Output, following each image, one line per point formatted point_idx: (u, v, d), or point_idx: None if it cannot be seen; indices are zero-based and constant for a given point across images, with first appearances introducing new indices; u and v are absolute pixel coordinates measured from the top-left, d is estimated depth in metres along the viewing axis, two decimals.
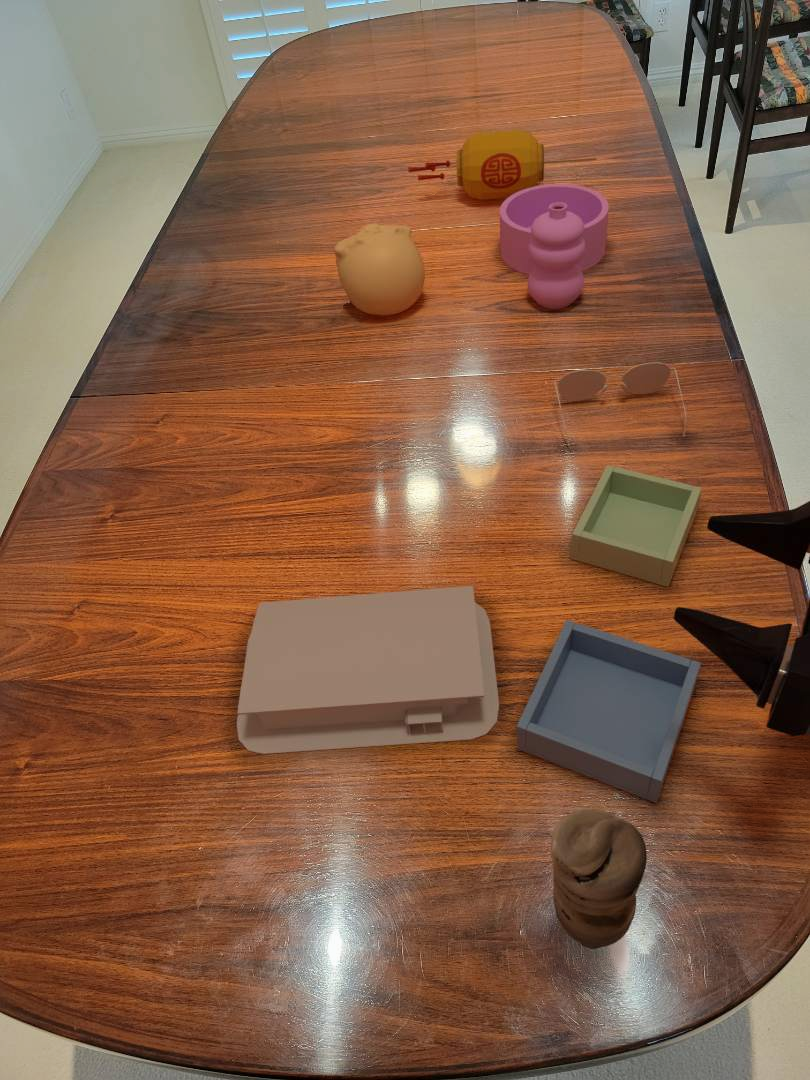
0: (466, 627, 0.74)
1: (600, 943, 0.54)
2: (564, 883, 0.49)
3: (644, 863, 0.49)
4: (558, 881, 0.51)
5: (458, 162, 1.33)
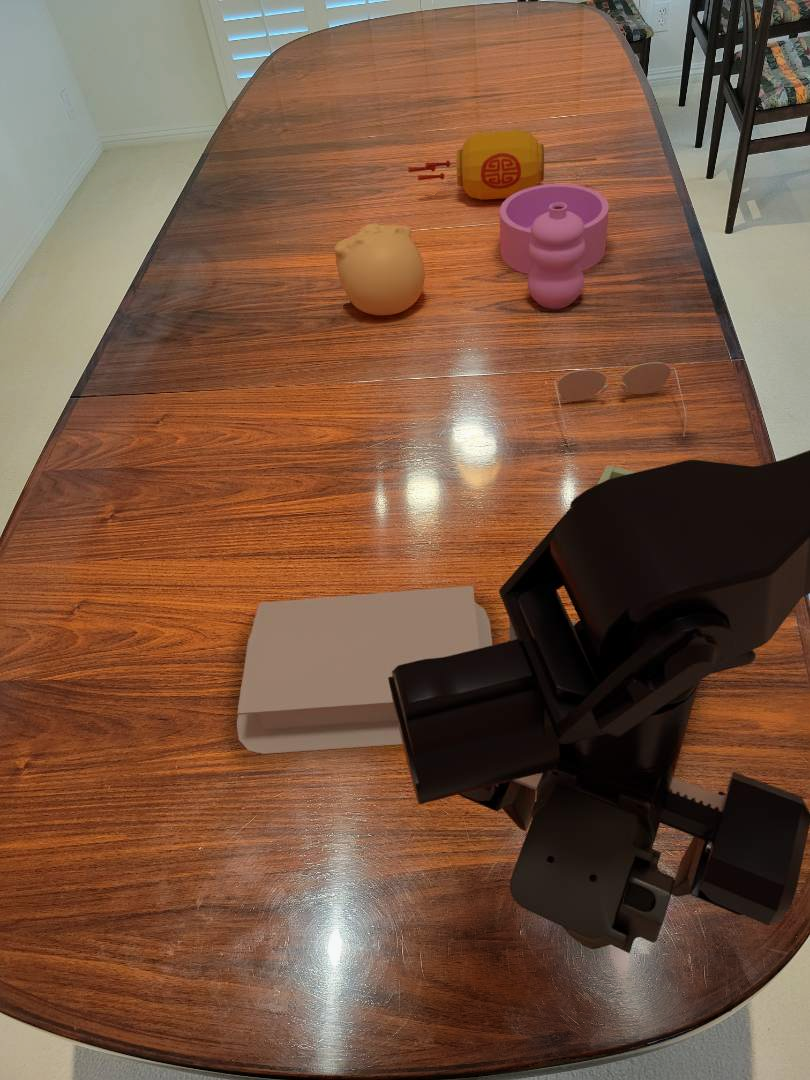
0: (466, 627, 0.74)
1: (600, 943, 0.54)
2: None
3: None
4: None
5: (458, 162, 1.33)
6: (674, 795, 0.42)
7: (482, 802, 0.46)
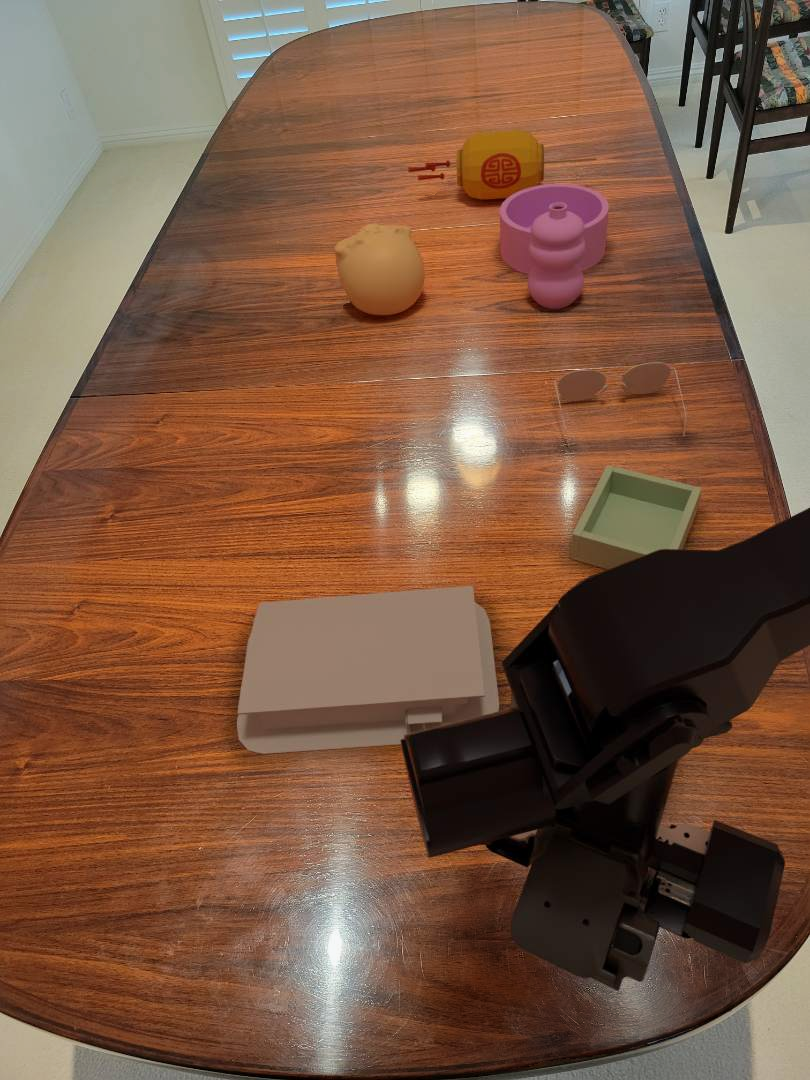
0: (466, 627, 0.74)
1: None
2: None
3: None
4: None
5: (458, 162, 1.33)
6: (660, 842, 0.46)
7: (513, 858, 0.49)
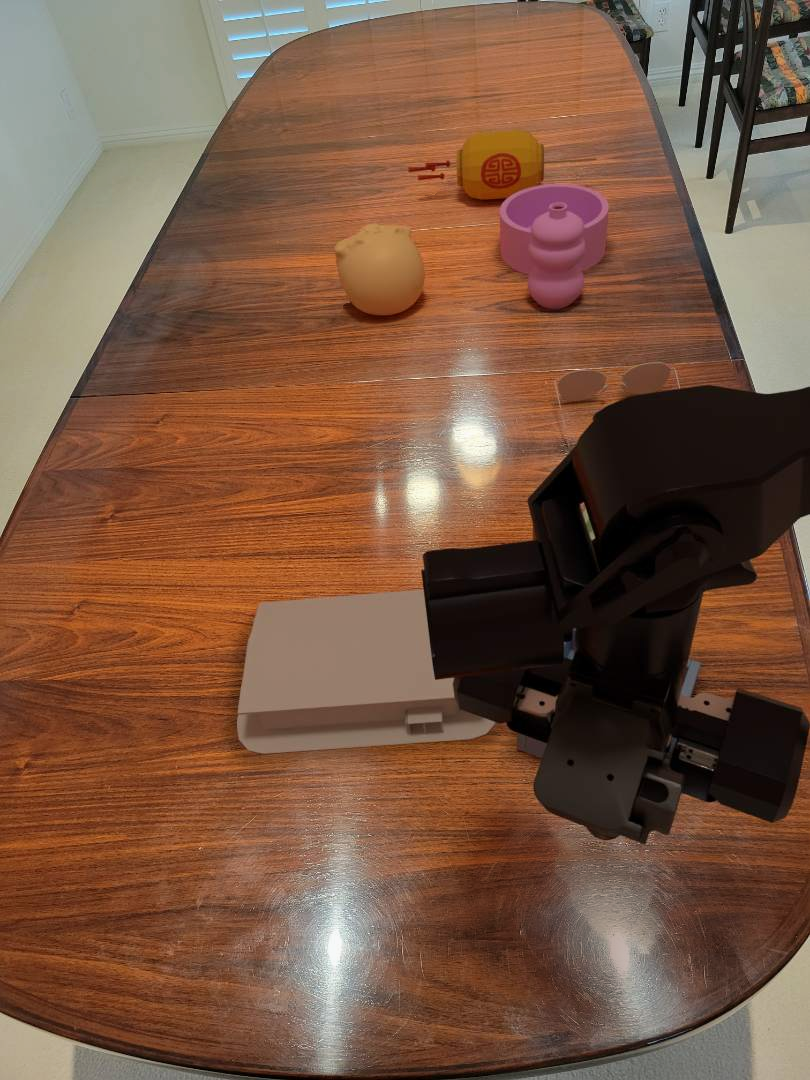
0: None
1: None
2: None
3: None
4: None
5: (458, 162, 1.33)
6: (683, 709, 0.46)
7: (535, 736, 0.48)
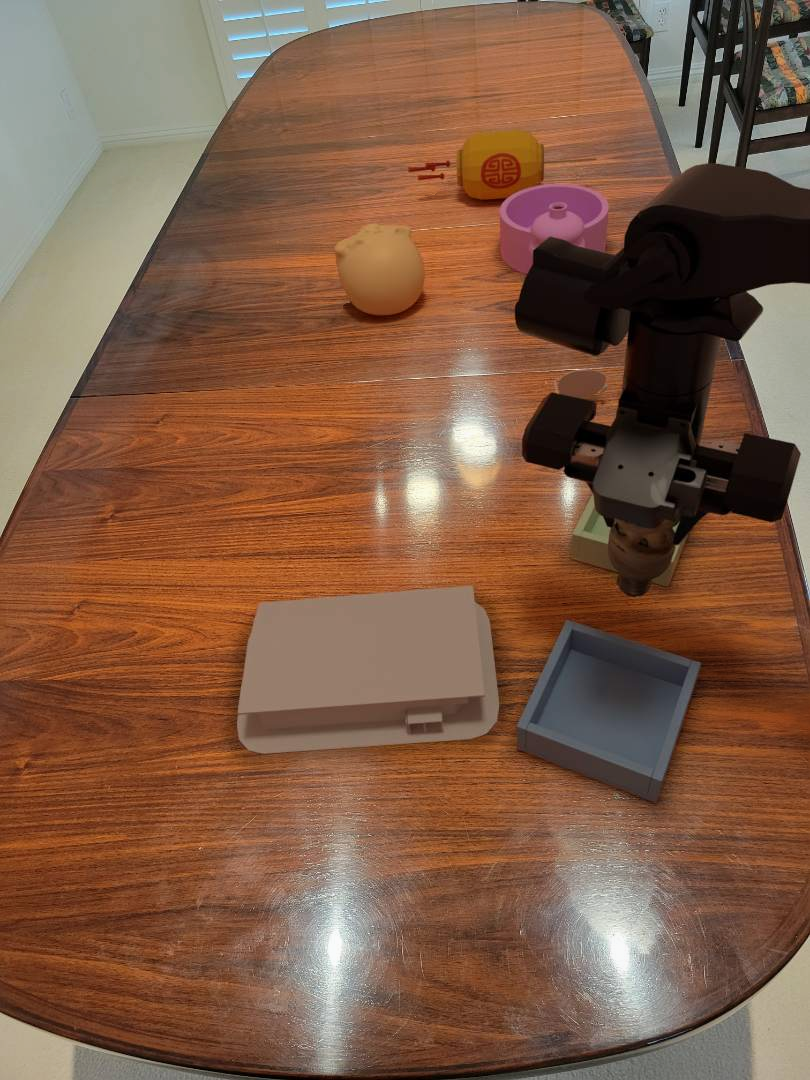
0: (466, 627, 0.74)
1: (647, 572, 0.67)
2: None
3: None
4: None
5: (458, 162, 1.33)
6: (703, 447, 0.59)
7: (587, 479, 0.62)
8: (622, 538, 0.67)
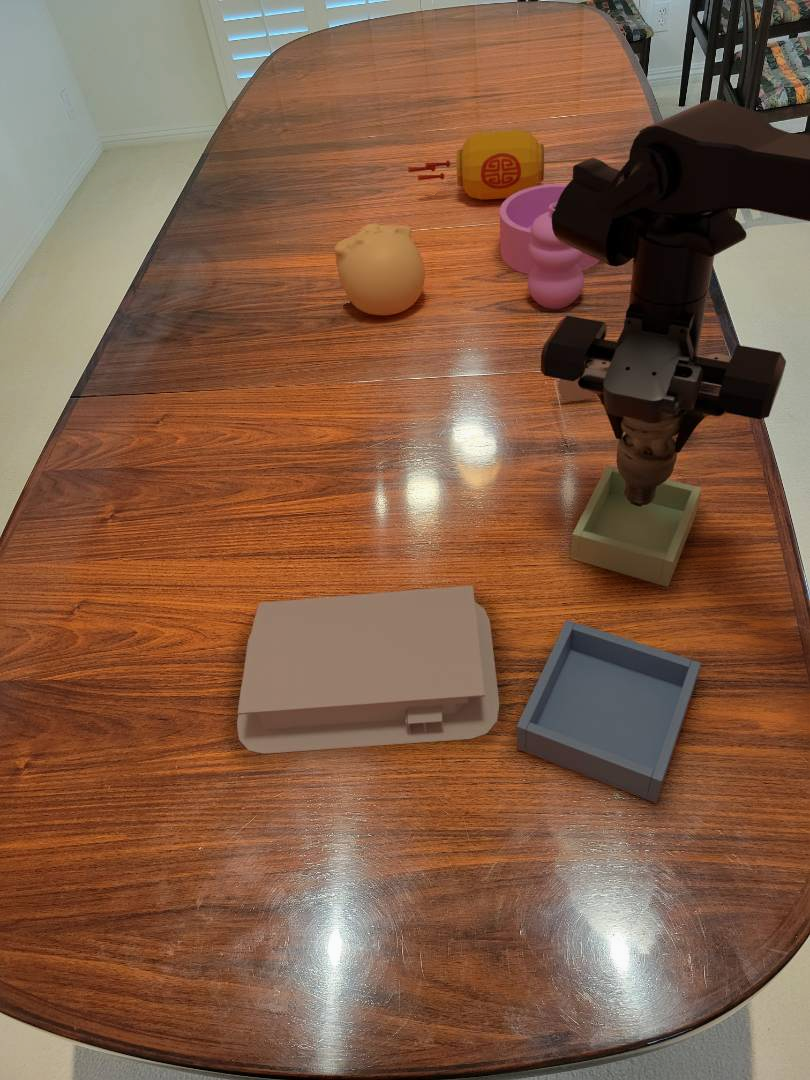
0: (466, 627, 0.74)
1: (651, 478, 0.75)
2: None
3: None
4: None
5: (458, 162, 1.33)
6: (700, 357, 0.68)
7: (598, 389, 0.70)
8: (629, 447, 0.75)
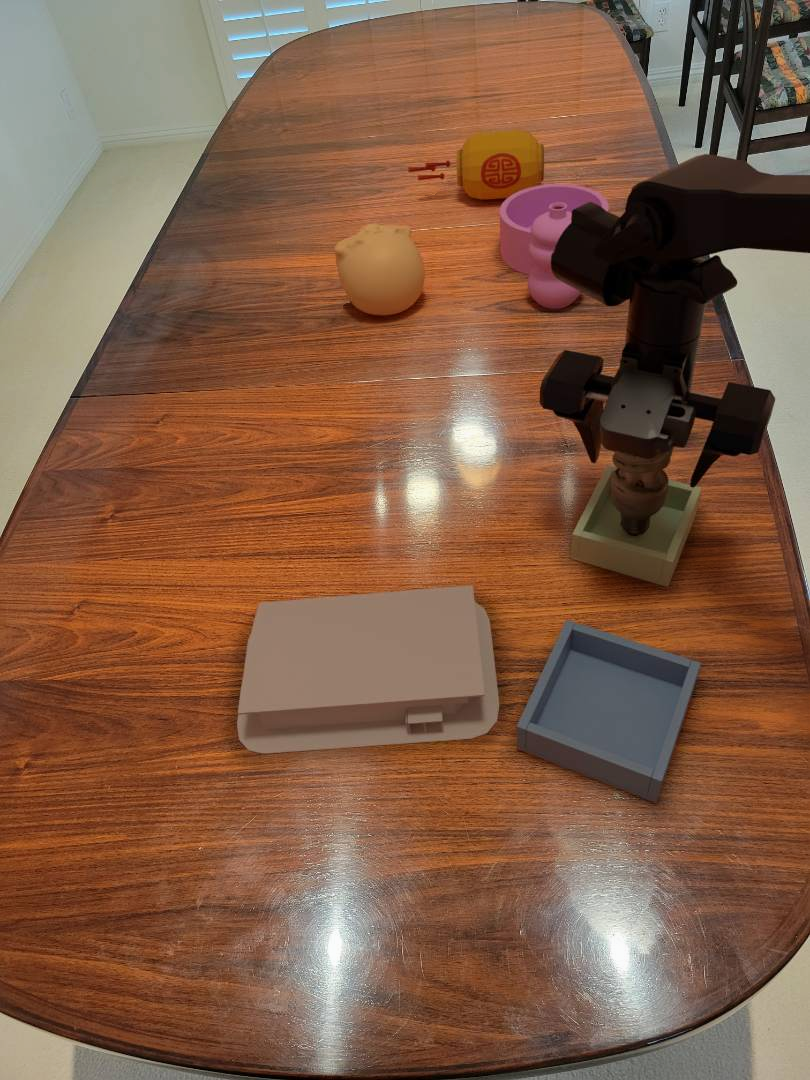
0: (466, 626, 0.74)
1: (644, 509, 0.78)
2: None
3: None
4: (617, 452, 0.76)
5: (458, 162, 1.33)
6: (693, 394, 0.70)
7: (573, 417, 0.74)
8: (621, 481, 0.78)
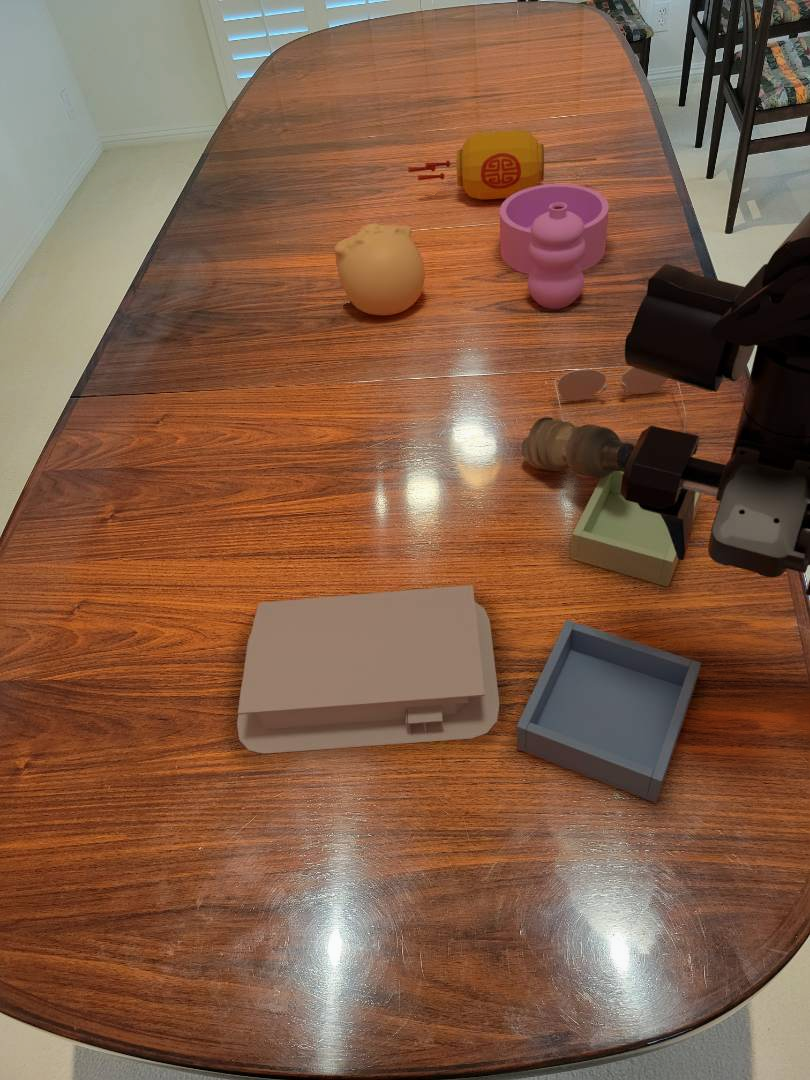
0: (466, 626, 0.74)
1: (584, 432, 0.83)
2: (528, 446, 0.90)
3: None
4: (539, 455, 0.89)
5: (458, 162, 1.33)
6: None
7: (664, 512, 0.59)
8: None
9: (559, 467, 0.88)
